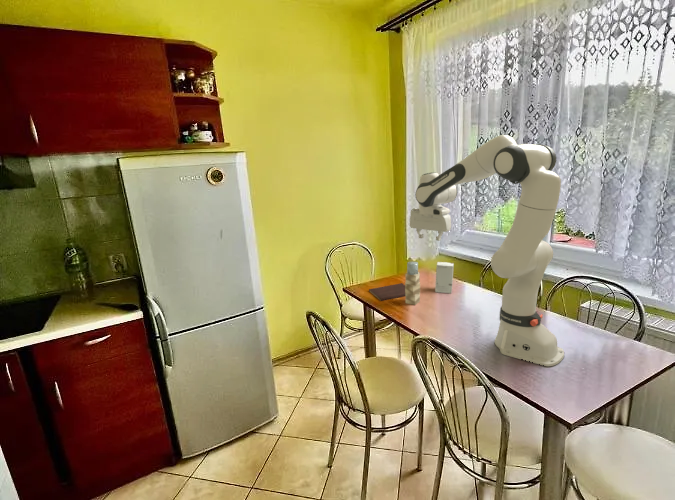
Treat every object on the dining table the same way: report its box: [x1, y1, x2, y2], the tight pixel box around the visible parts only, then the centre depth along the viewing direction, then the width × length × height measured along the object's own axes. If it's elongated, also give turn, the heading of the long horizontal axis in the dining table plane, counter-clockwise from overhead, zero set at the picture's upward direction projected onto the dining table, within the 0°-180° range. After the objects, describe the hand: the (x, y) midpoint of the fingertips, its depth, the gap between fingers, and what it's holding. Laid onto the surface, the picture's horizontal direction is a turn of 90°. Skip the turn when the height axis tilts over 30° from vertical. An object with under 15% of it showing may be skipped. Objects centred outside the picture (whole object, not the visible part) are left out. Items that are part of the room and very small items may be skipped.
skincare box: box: [434, 261, 455, 294], centre depth 188 cm, size 8×6×15 cm
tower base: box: [405, 292, 421, 306], centre depth 178 cm, size 5×5×5 cm
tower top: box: [405, 271, 421, 286], centre depth 175 cm, size 5×5×5 cm
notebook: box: [368, 282, 406, 302], centre depth 192 cm, size 15×20×2 cm
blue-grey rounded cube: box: [406, 261, 419, 275], centre depth 174 cm, size 5×5×5 cm
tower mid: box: [404, 282, 421, 295], centre depth 177 cm, size 5×5×5 cm
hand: (429, 239), depth 169 cm, fingers open, 8 cm apart
